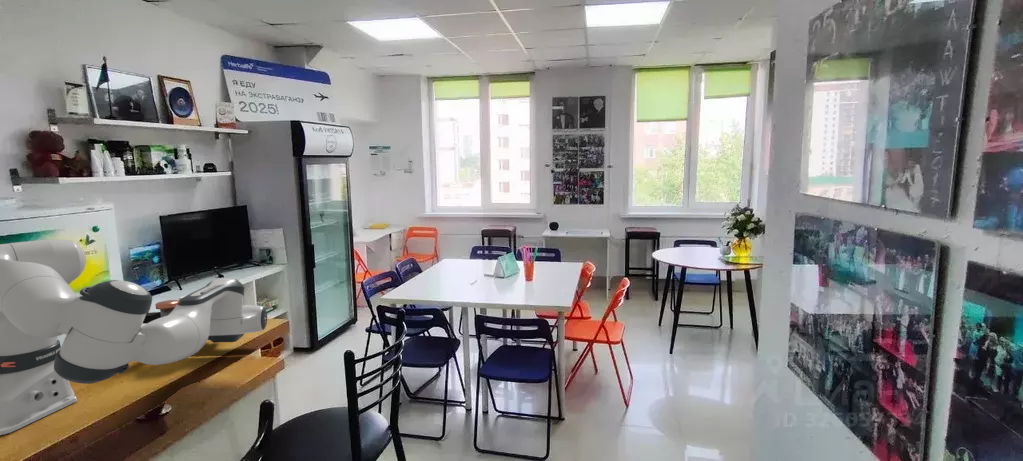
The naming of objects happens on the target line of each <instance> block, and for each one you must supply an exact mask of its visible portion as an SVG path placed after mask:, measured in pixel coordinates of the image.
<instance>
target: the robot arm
mask: <svg viewBox="0 0 1023 461" xmlns="http://www.w3.org/2000/svg"><path fill="white" fill-rule="evenodd" d="M86 266H87V257H86V253H85V252H84V250H83V248H82V247H81V246H80V245H79V244H78V243H76V242H75V241H72V240H71V239H70V240H68V239H67V240H65V239H40V240H39V239H38V240H28V241H18V242H9V243H2V244H0V436H2V435H3V436H4V435H8V434H10V433H12V432H15V431H17V430H19V429H21V428H23V427H25V426H28V425H29V424H32V423H34V422H36V421H38V420H40V419H43V418H45V417H46V416H49V415H51V414H53V413H55V412H57V411H59V410H61V409H64V408H65V407H68V406H70V405H72V404H74V403H76V402H78V399H77V396H76V395H75V391H74V390H73V388H72V386H71V384H70V382H73V383H77V384H83V385H84V384H85V385H89V384H96V383H99V382H103V381H105V380H109V379H110V378H112V377H114V376H116V375H118V374H123V373H125V372H127V371H129V366H130V365H129V364H130V363H132V362H138V363H142V364H144V365H154V366H155V365H157V366H159V365H165V364H166V365H168V364H171V363H175V362H178V361H179V362H180V361H182V360H184V359H187V358H189V357H191V356H193V355H195V354H197V353H198V352H200V350H202V348H203V347H204V346H205V345H206V343H207V341H210V342H212V343H213V344H214V343H236V342H238V341H239V340H240V339H241V338H242V337H243V336H244V335H245V334H252V333H256V332H257V333H258V332H262V331H265V329H266V327H267V325H268V324H267V323H268V312H267V308H265V306H262V305H258V304H257V305H256V304H255V305H253V304H244V296H245V286H244V285H243V283H241V282H240V281H239V280H238V279H236V278H231V277H230V278H229V277H224V278H223V277H221V278H217V279H214V280H211V281H209V282H208V283H207V284H206V285H205V286H202V287H200V288H198V289H196V290H195V291H193V292H190V293H189V294H186V295H187V296H186V295H184V296H185V297H183V296H182V297H183V298H182V299H180V301H179V302H178V304H177V306H176V307H175V308H174V310H173V311H172V312H171V313H170V314H169V315H168V316H164V317H161V318H158V319H156V320H153V321H151V322H149V323H147V324H143V321H144V319H145V316H146V314H147V313H150V310H151V307H152V303H153V296H152V294H151V293H150V292H149V291H148V289H145V288H144V287H142V286H141V285H140V284H137V283H134V282H132V281H127V280H118V279H112V280H111V279H110V280H107V281H102V282H99V283H96V284H95V285H93V286H86V287H83V288H82V289H81V290H79V294H77V293H76V292H74V289H72V287H71V286H70V284H71V283H73V281H75V280H76V279H78V278H79V277H80V276H81V274H82V273H83V272H84V271H85V268H86ZM62 335H65V338H64V340H63V342H62V345H61V341H60V340H59V339H58V337H60V336H62ZM208 339H209V340H208Z"/></svg>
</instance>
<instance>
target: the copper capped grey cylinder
mask: <svg viewBox="0 0 1023 461" xmlns="http://www.w3.org/2000/svg"><path fill="white" fill-rule="evenodd" d="M178 302H179V299H168V300H167V299H166V300H163V301H159V302H156V303H155V309H156V310H159V312H160V313H161V317H164V316H168V315H169V314H170V313H171V312H172V311H173V310H174V308H175V307H176V306H177V304H178Z"/></svg>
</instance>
